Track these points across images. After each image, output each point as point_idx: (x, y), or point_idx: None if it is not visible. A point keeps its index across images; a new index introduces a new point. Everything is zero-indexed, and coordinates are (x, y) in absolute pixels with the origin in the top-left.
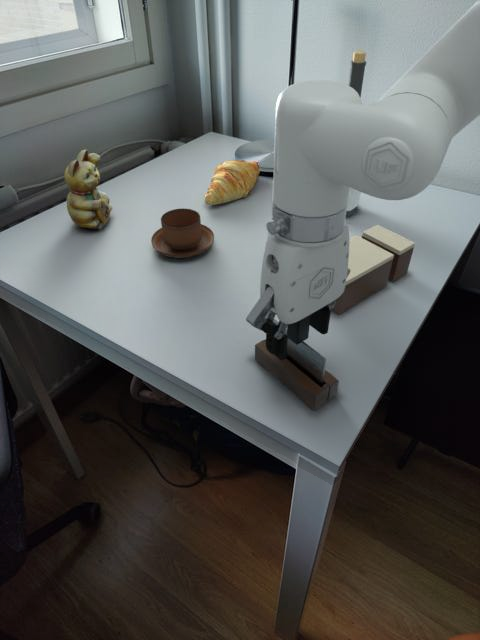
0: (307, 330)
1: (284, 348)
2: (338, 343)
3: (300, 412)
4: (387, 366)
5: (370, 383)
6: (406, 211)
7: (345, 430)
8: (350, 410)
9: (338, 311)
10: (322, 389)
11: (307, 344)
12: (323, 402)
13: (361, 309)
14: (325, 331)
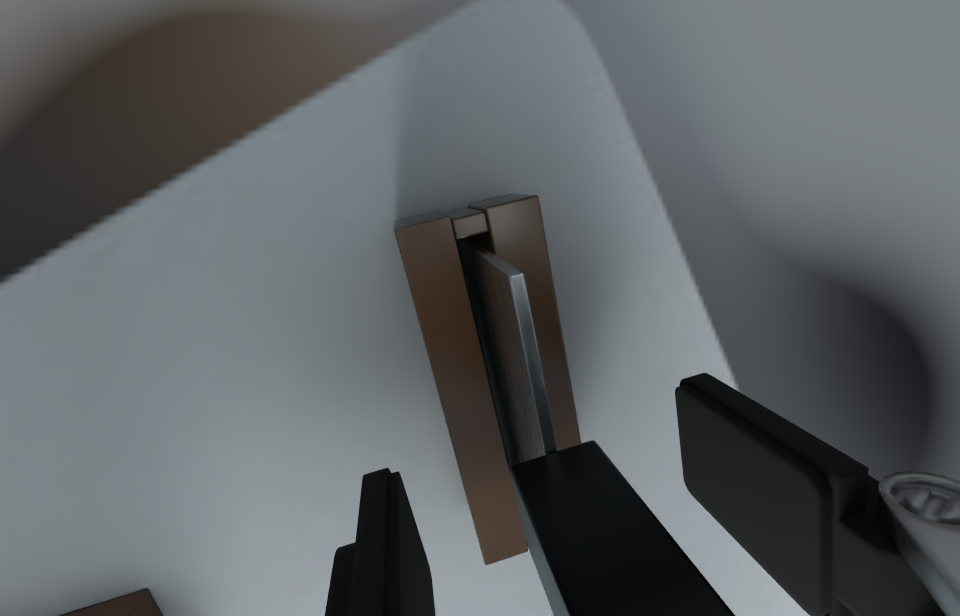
0: (546, 509)
1: (764, 414)
2: (235, 451)
3: (555, 212)
4: (82, 262)
5: (219, 213)
6: None
7: (454, 57)
8: (382, 131)
9: (139, 606)
10: (490, 217)
11: (539, 424)
12: (463, 208)
13: (17, 594)
14: (384, 481)
